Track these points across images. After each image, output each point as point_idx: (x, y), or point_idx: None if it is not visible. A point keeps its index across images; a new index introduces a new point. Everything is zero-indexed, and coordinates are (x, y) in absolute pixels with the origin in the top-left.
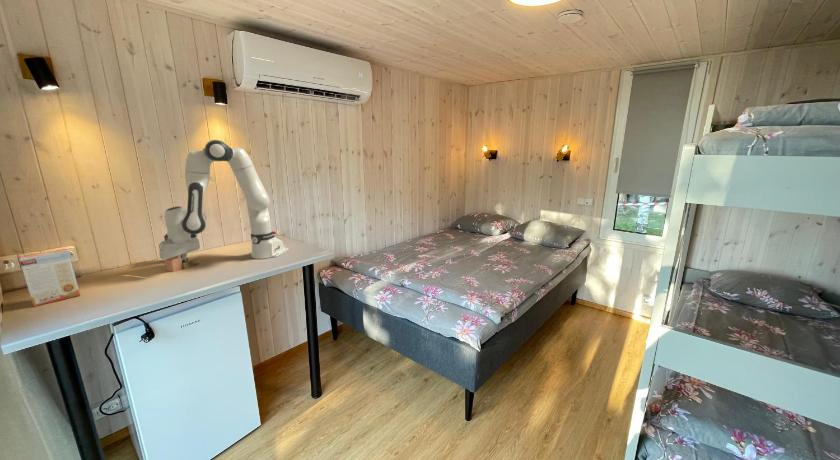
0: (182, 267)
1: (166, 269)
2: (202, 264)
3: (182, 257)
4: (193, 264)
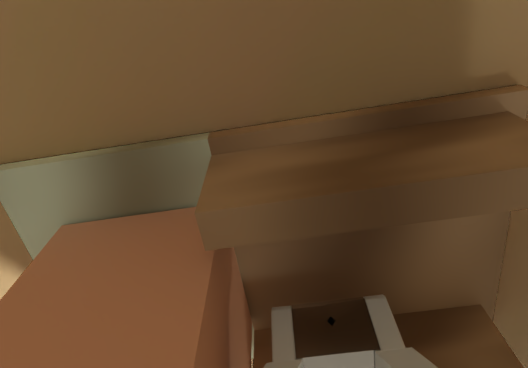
0: (250, 337)
1: (51, 243)
2: (506, 330)
3: (392, 366)
4: None
